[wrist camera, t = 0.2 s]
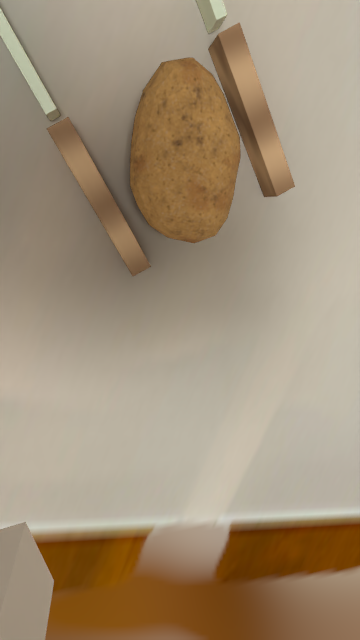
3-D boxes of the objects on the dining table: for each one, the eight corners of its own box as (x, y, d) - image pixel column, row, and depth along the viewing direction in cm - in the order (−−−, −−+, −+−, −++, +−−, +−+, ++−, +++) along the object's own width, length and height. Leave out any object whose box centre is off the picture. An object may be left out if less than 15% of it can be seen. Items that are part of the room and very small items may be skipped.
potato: (222, 77, 32) (255, 40, 24) (225, 233, 36) (254, 241, 29) (115, 79, 30) (117, 39, 23) (133, 241, 35) (139, 252, 28)
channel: (52, 135, 31) (46, 128, 28) (227, 38, 31) (239, 22, 28) (131, 270, 36) (132, 276, 33) (280, 187, 36) (294, 186, 33)
